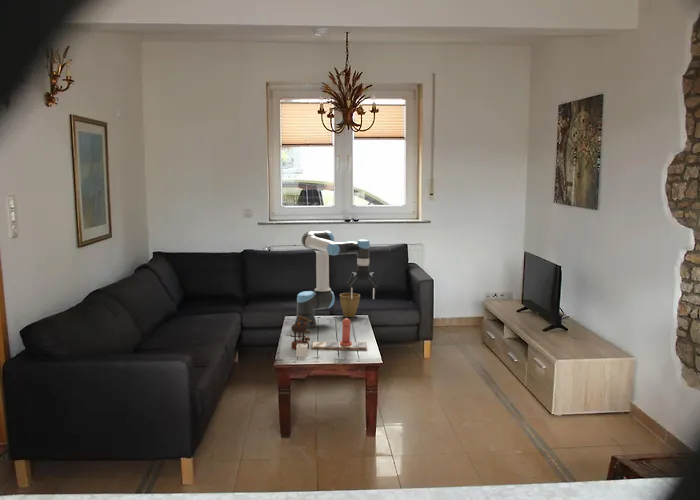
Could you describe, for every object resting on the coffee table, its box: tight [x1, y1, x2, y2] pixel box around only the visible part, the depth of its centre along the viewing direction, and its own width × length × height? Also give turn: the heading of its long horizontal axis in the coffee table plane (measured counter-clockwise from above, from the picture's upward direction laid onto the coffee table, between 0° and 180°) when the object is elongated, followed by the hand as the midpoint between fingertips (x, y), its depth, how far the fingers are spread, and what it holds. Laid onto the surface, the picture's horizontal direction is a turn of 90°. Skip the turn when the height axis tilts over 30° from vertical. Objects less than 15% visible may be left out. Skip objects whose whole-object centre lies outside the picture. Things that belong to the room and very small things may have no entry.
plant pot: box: [339, 292, 361, 318], centre depth 433 cm, size 15×15×16 cm
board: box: [310, 341, 368, 351], centre depth 358 cm, size 33×12×2 cm, turn 90°
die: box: [295, 344, 308, 358], centre depth 341 cm, size 6×6×6 cm
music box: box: [286, 316, 312, 351], centre depth 353 cm, size 15×11×20 cm
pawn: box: [339, 317, 353, 346], centre depth 357 cm, size 7×7×16 cm
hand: (362, 298), depth 369 cm, fingers open, 13 cm apart
